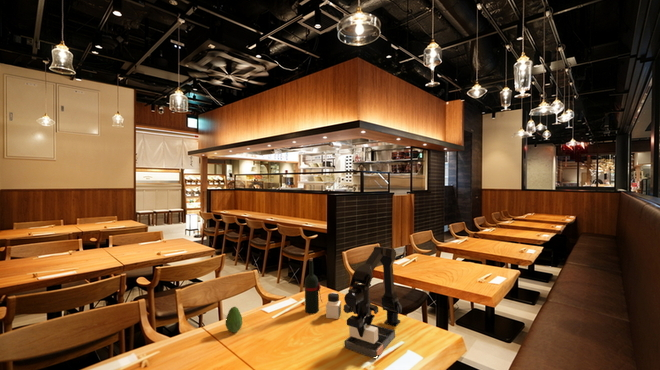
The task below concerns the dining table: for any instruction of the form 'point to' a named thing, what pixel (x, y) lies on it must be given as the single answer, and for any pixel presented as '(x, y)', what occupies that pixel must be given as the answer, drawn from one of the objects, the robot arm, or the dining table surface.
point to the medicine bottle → (333, 306)
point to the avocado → (234, 320)
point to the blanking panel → (365, 333)
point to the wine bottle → (311, 291)
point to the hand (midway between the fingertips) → (363, 334)
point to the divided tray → (369, 348)
